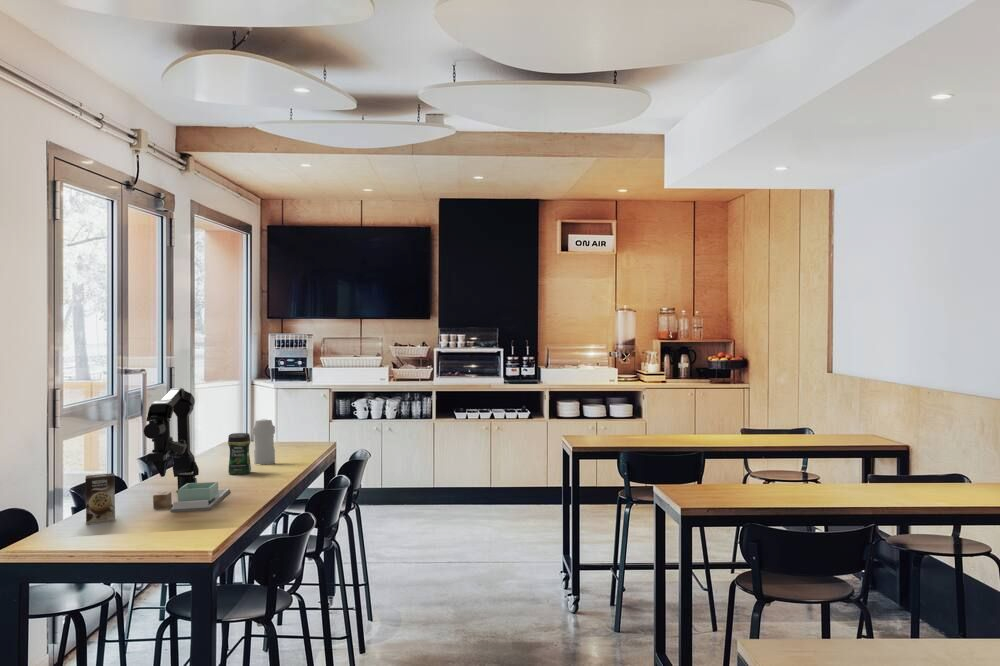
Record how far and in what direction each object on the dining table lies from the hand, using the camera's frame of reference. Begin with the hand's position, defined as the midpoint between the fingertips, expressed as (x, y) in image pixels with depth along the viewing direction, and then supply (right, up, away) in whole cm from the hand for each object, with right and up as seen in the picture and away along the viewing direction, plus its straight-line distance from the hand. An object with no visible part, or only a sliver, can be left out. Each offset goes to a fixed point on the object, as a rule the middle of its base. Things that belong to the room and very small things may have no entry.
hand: (162, 476), depth 283 cm
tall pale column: (+12, -10, +83) cm, 85 cm away
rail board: (+12, -11, +6) cm, 18 cm away
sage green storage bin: (+13, -10, +2) cm, 16 cm away
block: (0, -11, 0) cm, 11 cm away
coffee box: (-13, -12, -20) cm, 26 cm away
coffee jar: (+8, -11, +61) cm, 63 cm away
